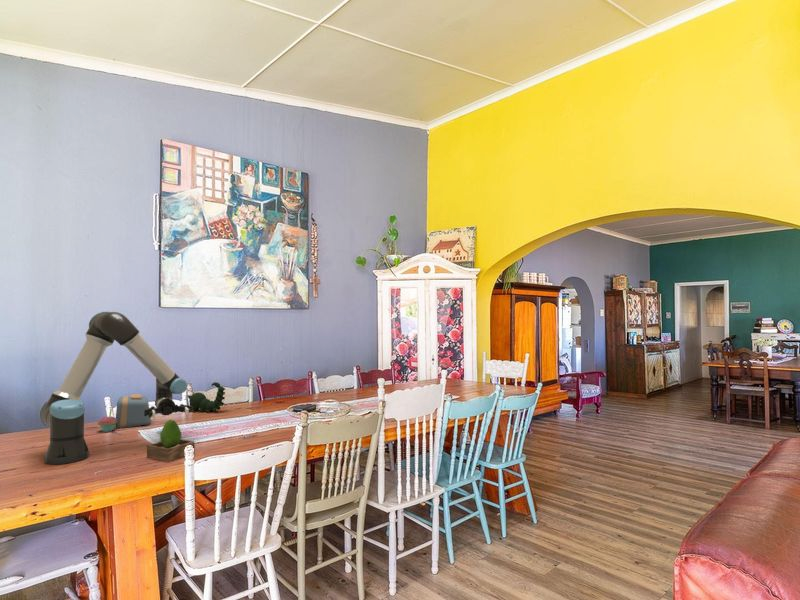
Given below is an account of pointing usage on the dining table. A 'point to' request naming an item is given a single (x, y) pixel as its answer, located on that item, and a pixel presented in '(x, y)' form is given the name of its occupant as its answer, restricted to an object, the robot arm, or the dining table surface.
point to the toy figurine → (207, 400)
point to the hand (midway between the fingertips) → (171, 414)
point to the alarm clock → (132, 411)
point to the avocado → (170, 434)
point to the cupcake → (107, 423)
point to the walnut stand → (168, 450)
